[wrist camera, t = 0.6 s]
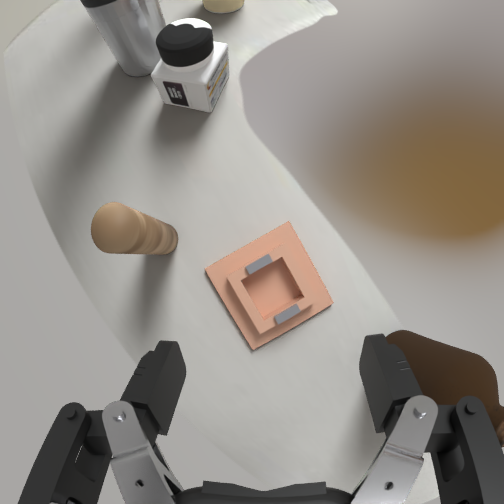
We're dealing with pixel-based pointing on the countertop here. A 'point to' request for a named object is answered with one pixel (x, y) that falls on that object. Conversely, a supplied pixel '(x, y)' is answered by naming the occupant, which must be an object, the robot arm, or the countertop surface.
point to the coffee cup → (222, 5)
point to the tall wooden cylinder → (131, 231)
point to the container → (190, 65)
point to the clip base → (269, 285)
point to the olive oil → (451, 374)
